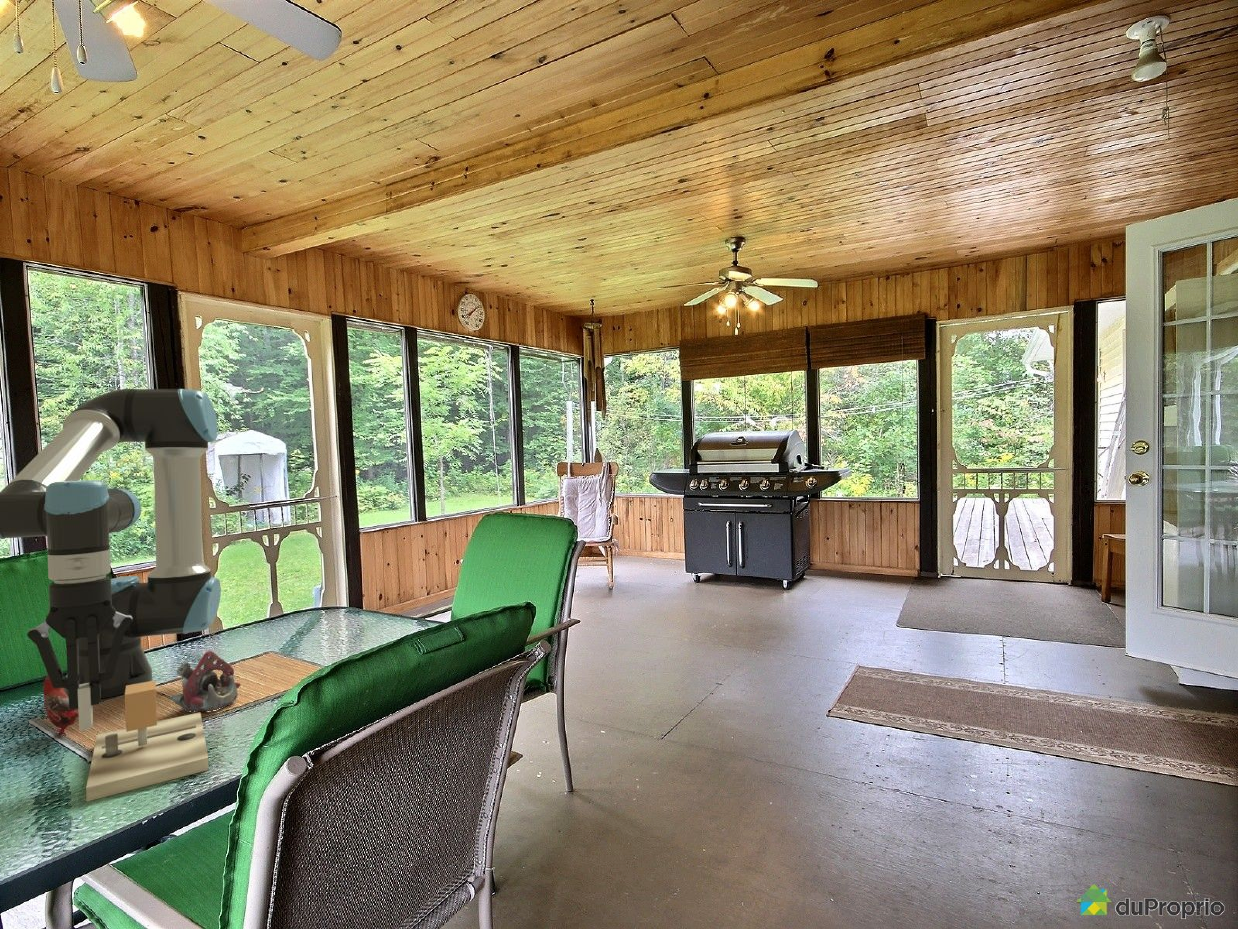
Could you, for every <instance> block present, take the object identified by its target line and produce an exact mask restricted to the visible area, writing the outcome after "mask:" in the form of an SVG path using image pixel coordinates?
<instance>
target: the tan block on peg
mask: <svg viewBox="0 0 1238 929" xmlns="http://www.w3.org/2000/svg"><path fill="white" fill-rule="evenodd" d="M156 683H157V681H156V679H155V680H152V681H149V682H143V683H138V684H132V685H127V686H126V690H125V693H124V703H125V705H124V707H125V708H124V709H125V711H124V712H125V728H126V732H128V731H133V730H137V729H138V746H143V745H146V744H147V727H151V726H156V725H157V721H158V710H157V709H158V705H157V684H156Z"/></svg>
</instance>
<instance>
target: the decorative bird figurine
mask: <svg viewBox="0 0 1238 929" xmlns="http://www.w3.org/2000/svg"><path fill="white" fill-rule="evenodd" d="M42 687H43V692H42V693H43V699H44V707H45V712H46V715H47V718H48V719H49V721H50V723H52V725H53V726H54V727H56V728H55V730H56V729H57V730H56V733H57V732H59V733H60V734H59V735H61V734H64V735H66V736H67V733H66V732H65V730H66V729H67V728H68V727H69V726H72V725H73V724H74V723H75V722H76V719H77V718H79V712H78V711H77V710H76V709H70V708H69V697H68V696H67V694H66V693H65V691H64V690H63V688H54V687H53V686H52V683H51V681H50V678H49V676H48V675H47V676H46V677H45V679H44V681H43V686H42ZM58 728H59V729H58Z"/></svg>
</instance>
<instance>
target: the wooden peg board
mask: <svg viewBox="0 0 1238 929" xmlns="http://www.w3.org/2000/svg"><path fill="white" fill-rule="evenodd" d="M201 713H202V712H195V713H191V714H185V715H182V716H176V717H172V718H167V719H162V720H159V721H158V720H157V725H156V726H151V727H147V744H146V745H143V746H138V729H137V730H133V731H128V732H126V727H125V728H119V729H117V730H116V729H115V730H111V731H107V732H106V731H105V732H102V733H98V734H96V738H95V739H96V740H95V744H94V748H93V754H92V758H91V761H90V762H91V763H90V767H89V773H88V776H87V777H88V778H87V781H86V782H87V783H86V787H85V791H86V792H85V793H86V794H85V796H86V802H91V801H94V800H97V799H101V798H106V797H109V796H113V795H117V794H121V793H125V792H129V791H133V790H137V789H140V788H143V787H148V786H151V785H156V784H160V783H164V782H167V781H171V780H175V779H178V778H179V779H180V778H182V777H186V776H190V775H194V774H198V773H203V772H206V771H209V755H208V754H209V753H208V748H207V744H206V738H205V732H204V725H203V719H202V714H201Z"/></svg>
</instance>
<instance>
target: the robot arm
mask: <svg viewBox="0 0 1238 929" xmlns="http://www.w3.org/2000/svg"><path fill="white" fill-rule="evenodd" d="M218 429H219V428H218V421H217V415H216V411H215V408H214V406H213V403H212V401H211V399H210V398H209V396H208V395H207V394H206V393H205V392H204V391H201V390H198V389H197V390H196V389H184V388H123V389H116V390H113V391H108V392H105V393H103V394H100V395H97V396H96V397H94V398H93V397H92V399H89V400H88V401H85V402H84V403H82V404H81V405H79V406H77V408H75V409H74V410H73V411H71V412H70V413H69V414H68V415H67V416H66V417H65V419H64V420H63V422H62V430H60V432H59V433H57V435H55V437H54V438H53V439H52V440H51V441H49V443H47V444H46V445H45V446H44V448H43V449H41V451H40V452H38V454H37V455H36V456H35V457H33V459H32V460H31V461H30V462H28V464H27V465H26V466H25V467H24V468H23V469H22V470H21V471H20V472H18V473H17V474H16V475H15V477H14V478H13V479H12V480H11V481H10V482H9V483H8V484H7V485H6V486H5V487H4V488H2V490H1V491H0V539H1V540H5V539H13V538H14V539H15V538H33V537H46V541H47V569H48V570H47V573H48V575H47V577H48V579H49V580H51V581H52V582H51V583H50V584H49V585H48V597H49V599H48V600H49V610H48V611H49V612H48V614H47V615H46V616H45V617H46V618H45V621H43V622H42V623H40V624H38V625H37V626H33V627H31V628H30V629H29V631H28V632H27V634H26V636H27V638H28V639H30V641H32V643H34V645H36V647H37V650H38V653H39V655H40V657H41V660H42V662H43V665H44V668H45V671H46V673H47V676H49V678H50V681H51V683H52V686H53V687H54V688H63V690H64V691H65V693H66V694H67V696H68V697H69V708H70V709H77V712H79V717H78V731H85V730H89V729H92V727H93V722H94V719H93V718H94V713H93V706H97V705H99V704H100V702H101V700H102V699H107V698H112V697H116V696H120V695H125V690H126V686H127V685H132V684H138V683H143V682H149V681H153V670H152V669H153V668H152V667H151V665H150V662H149V660H148V658H147V656H146V654H145V652H144V649H143V648H142V638H143V637H152V636H153V637H154V636H164V635H175V634H183V635H186V634H189V633H197V632H202V631H205V630H207V629H209V628H210V627H211V626H212V625H213V623H214V621H215V619H216V617H217V614H218V611H219V606H220V603H221V602H220V601H221V596H222V595H221V594H222V587H221V581H220V579H219V578H217V577H214V576H211V575H212V571H211V568H210V567H209V566H207V565H206V564H205V563H204V562H203V526H202V524H203V520H202V517H203V516H202V513H203V512H202V477H201V476H202V475H201V472H202V470H201V458H202V456H203V455H204V454H205V453H206V452H208V450H209V443H212V442H214V441H215V440H217V438H218ZM130 442H131V443H132V442H133V443H134V442H135V443H144V451H145V452H147V453H148V454H149V455H151V456H152V458H153V470H154V471H153V479H154V481H153V484H154V531H155V533H154V534H155V535H154V536H155V538H154V539H155V567H154V569H152V571H150V572H149V573H148V574H147V582H141V579H140V578H139V577H138V575H128V576H121V577H114V578H111V577H110V576H107V575H108V574H110V573H111V569H112V568H111V548H110V546H111V544H110V534H113V533H119V532H122V531H124V530H126V529H128V528H130V527H131V526H133V525H135V524H136V523H137V521H138V520H139V518H140V517H141V514H142V504H141V501H140V499H139V498H138V497H137V495H136V494H134V493H133V492H132V491H129V490H128V489H124V488H117V487H114V488H108V485H107V484H106V482H105V481H103V480H99V479H98V480H97V479H96V480H95V479H94V480H92V479H91V480H81V478H82V477H83V475H85V474H86V473H87V471H88V470H89V469H90V468H91V466H92V465H93V464H94V463H95V462H96V461H97V459H98V458H99V457H100V456H101V455H102V454H103V452H107V451H109V450H111V449H113V448H114V447H116V445H117V444H120V443H130ZM50 628H51V629H53V630H54V632H55V633H56V634H58V635H59V636H60V637H61V638H63V639H65V646H66V647H65V648H66V675H65V676H64V674H63V671H62V668H61V666H60V663H59V661H58V658H57V655H56V653H55V650H54V648H53V645H52V642H51V639H50V638H49V635H51V630H50Z"/></svg>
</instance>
